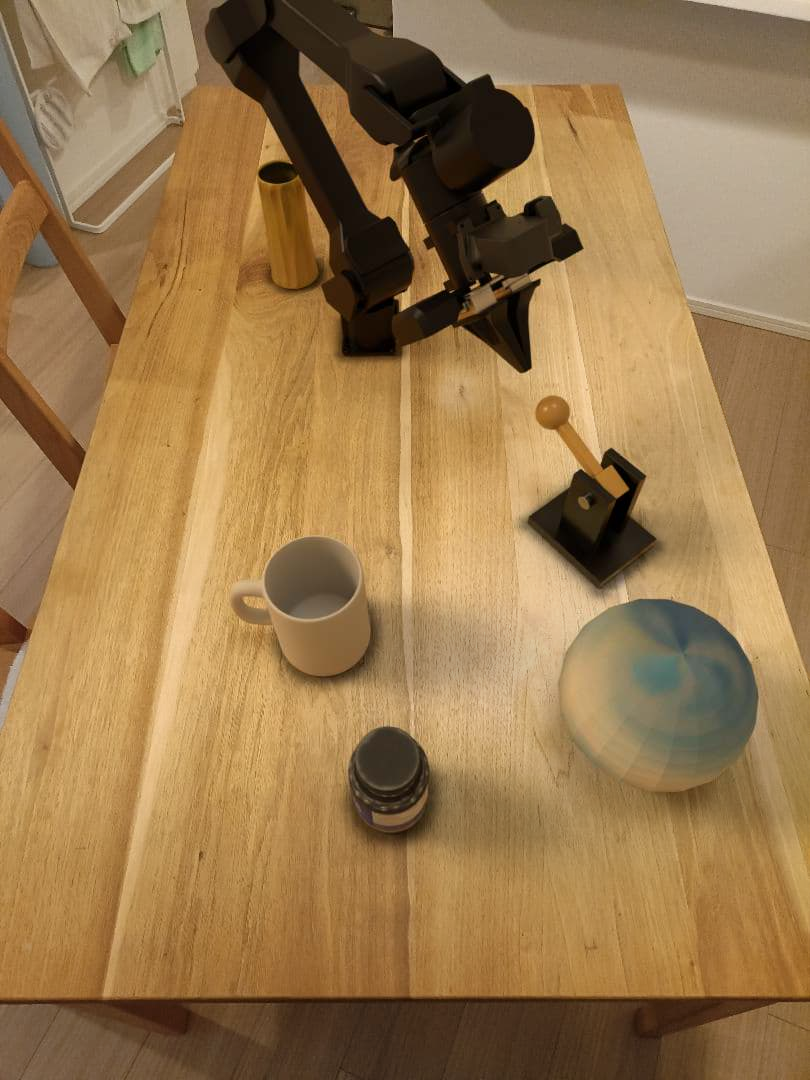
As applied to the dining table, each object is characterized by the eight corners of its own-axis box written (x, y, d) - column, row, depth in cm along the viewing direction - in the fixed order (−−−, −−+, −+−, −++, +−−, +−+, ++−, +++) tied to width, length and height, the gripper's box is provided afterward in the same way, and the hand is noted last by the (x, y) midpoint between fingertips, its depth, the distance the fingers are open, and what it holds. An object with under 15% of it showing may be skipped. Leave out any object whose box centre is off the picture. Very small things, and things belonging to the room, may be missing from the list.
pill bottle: (353, 763, 66) (342, 718, 56) (424, 757, 66) (425, 711, 56) (356, 839, 62) (346, 804, 53) (431, 832, 62) (434, 797, 53)
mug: (373, 596, 74) (367, 534, 65) (367, 679, 70) (360, 624, 60) (250, 593, 75) (227, 530, 65) (236, 675, 70) (209, 620, 61)
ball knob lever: (523, 413, 73) (537, 400, 70) (547, 397, 74) (562, 383, 71) (594, 512, 72) (611, 503, 69) (618, 495, 73) (635, 485, 70)
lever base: (526, 522, 79) (539, 463, 70) (581, 483, 81) (600, 421, 73) (598, 589, 74) (620, 533, 66) (653, 545, 77) (682, 486, 69)
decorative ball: (724, 828, 62) (802, 776, 50) (539, 796, 64) (569, 737, 51) (716, 660, 70) (782, 578, 58) (552, 635, 72) (581, 550, 59)
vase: (311, 292, 98) (296, 189, 86) (265, 287, 99) (245, 184, 87) (323, 262, 102) (311, 159, 90) (279, 257, 102) (261, 154, 90)
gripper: (410, 223, 57) (498, 412, 61) (588, 133, 63) (656, 311, 67) (354, 261, 67) (433, 421, 71) (512, 181, 73) (576, 332, 77)
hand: (526, 371), depth 71 cm, fingers closed
